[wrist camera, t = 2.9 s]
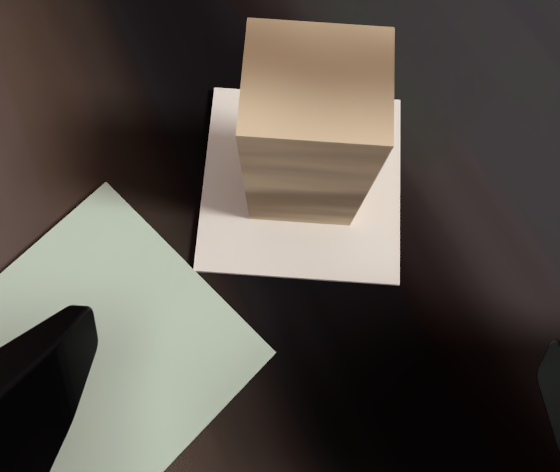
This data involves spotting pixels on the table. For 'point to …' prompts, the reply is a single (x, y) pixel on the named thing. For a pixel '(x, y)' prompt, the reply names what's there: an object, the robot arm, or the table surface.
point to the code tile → (292, 235)
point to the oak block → (314, 117)
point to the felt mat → (132, 336)
